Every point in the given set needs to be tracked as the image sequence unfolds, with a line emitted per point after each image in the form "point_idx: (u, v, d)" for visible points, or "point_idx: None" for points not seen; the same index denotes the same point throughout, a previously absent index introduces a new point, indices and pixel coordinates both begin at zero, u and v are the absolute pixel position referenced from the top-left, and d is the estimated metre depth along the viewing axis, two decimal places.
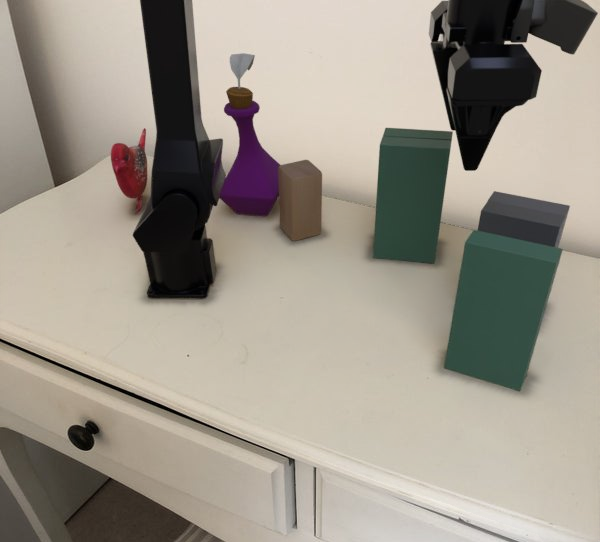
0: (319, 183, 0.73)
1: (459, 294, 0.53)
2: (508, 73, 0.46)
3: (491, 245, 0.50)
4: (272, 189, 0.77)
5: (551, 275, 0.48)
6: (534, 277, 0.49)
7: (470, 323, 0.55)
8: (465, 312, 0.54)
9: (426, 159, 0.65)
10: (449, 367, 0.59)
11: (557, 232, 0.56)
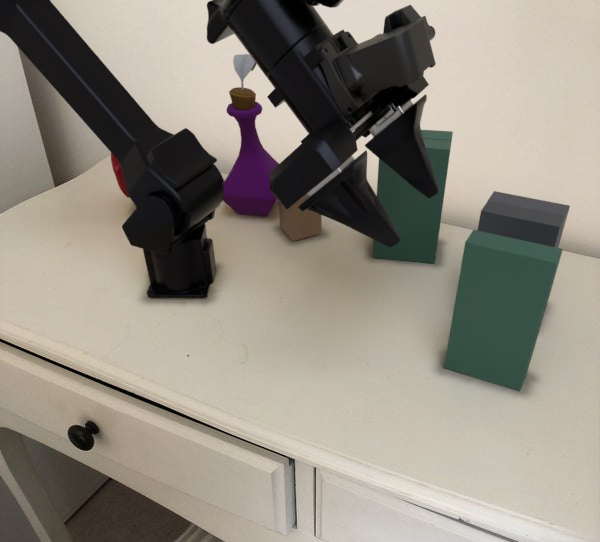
0: None
1: (459, 294, 0.53)
2: (298, 165, 0.44)
3: (491, 245, 0.50)
4: None
5: (551, 275, 0.48)
6: (534, 277, 0.49)
7: (470, 323, 0.55)
8: (465, 312, 0.54)
9: None
10: (449, 367, 0.59)
11: (557, 232, 0.56)
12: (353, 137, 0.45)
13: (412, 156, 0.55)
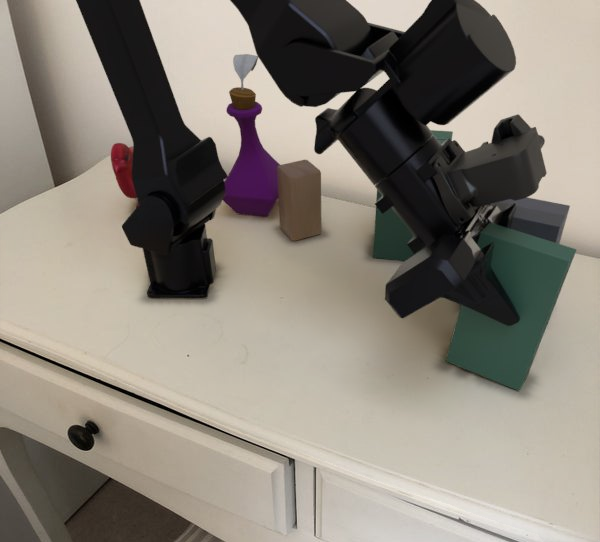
0: (318, 182, 0.73)
1: None
2: (418, 281, 0.45)
3: (505, 238, 0.50)
4: (272, 190, 0.78)
5: (562, 273, 0.48)
6: (545, 274, 0.49)
7: (477, 317, 0.55)
8: None
9: None
10: (451, 360, 0.59)
11: (557, 232, 0.56)
12: (470, 250, 0.45)
13: None
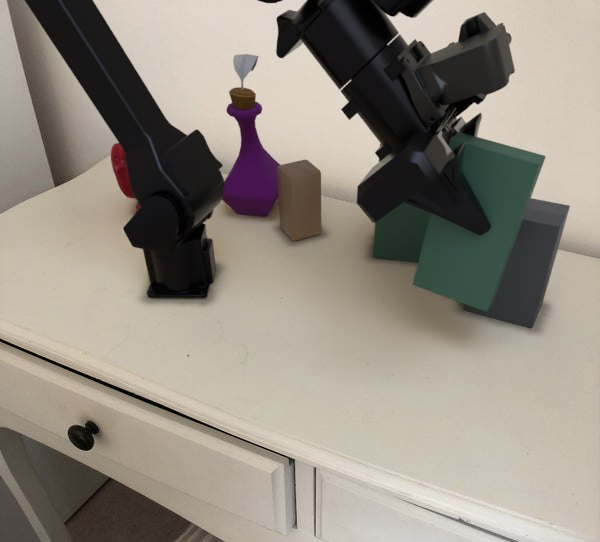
0: (318, 182, 0.73)
1: None
2: (392, 177, 0.43)
3: (475, 144, 0.49)
4: (272, 190, 0.78)
5: (532, 178, 0.48)
6: (515, 180, 0.49)
7: (445, 233, 0.54)
8: (441, 220, 0.53)
9: None
10: (418, 284, 0.57)
11: (557, 232, 0.56)
12: (443, 146, 0.44)
13: None
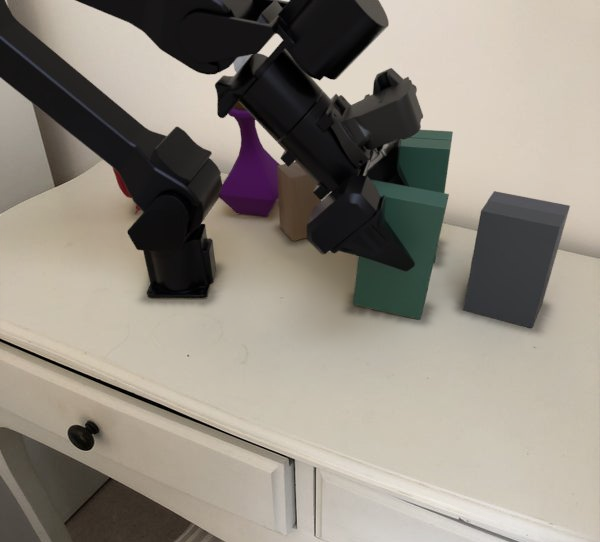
0: None
1: None
2: (336, 216, 0.51)
3: (388, 194, 0.56)
4: (272, 190, 0.78)
5: (441, 218, 0.55)
6: (426, 220, 0.56)
7: (374, 264, 0.61)
8: None
9: (426, 159, 0.65)
10: (357, 303, 0.65)
11: (557, 232, 0.56)
12: (374, 186, 0.52)
13: None
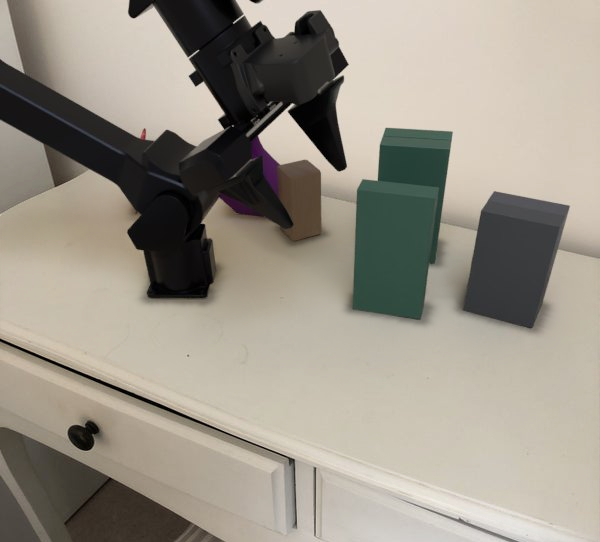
0: (318, 182, 0.73)
1: (357, 238, 0.60)
2: (198, 167, 0.51)
3: (379, 190, 0.57)
4: None
5: (432, 210, 0.56)
6: (418, 213, 0.57)
7: (370, 263, 0.62)
8: (364, 254, 0.61)
9: (426, 159, 0.65)
10: (357, 307, 0.66)
11: (557, 232, 0.56)
12: (249, 145, 0.51)
13: (325, 133, 0.60)
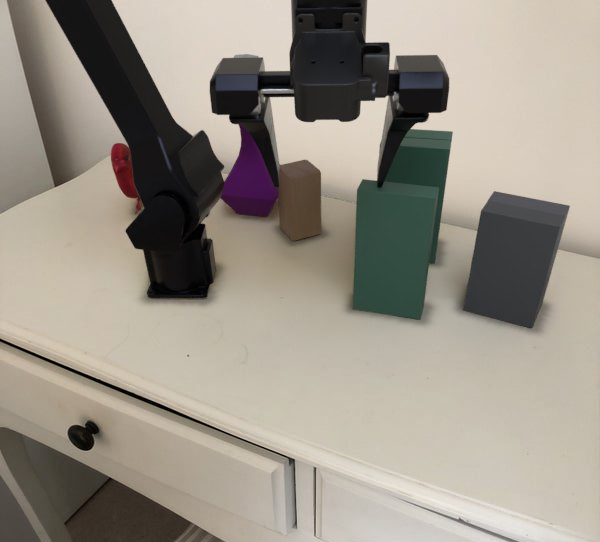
0: (318, 182, 0.73)
1: (357, 238, 0.60)
2: None
3: (379, 190, 0.57)
4: (272, 190, 0.78)
5: (432, 210, 0.56)
6: (418, 213, 0.57)
7: (370, 263, 0.62)
8: (364, 254, 0.61)
9: (426, 159, 0.65)
10: (357, 307, 0.66)
11: (557, 232, 0.56)
12: (255, 103, 0.50)
13: None
